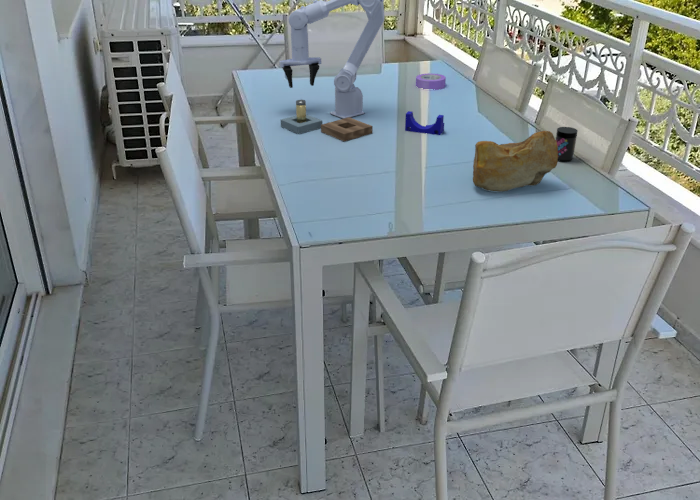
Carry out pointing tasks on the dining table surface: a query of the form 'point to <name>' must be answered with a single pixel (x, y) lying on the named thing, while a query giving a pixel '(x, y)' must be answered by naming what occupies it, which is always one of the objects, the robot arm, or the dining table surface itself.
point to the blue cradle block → (429, 129)
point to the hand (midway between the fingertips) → (301, 86)
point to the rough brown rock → (514, 162)
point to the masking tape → (430, 81)
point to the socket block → (346, 129)
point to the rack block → (301, 124)
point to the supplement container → (566, 143)
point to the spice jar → (301, 111)
